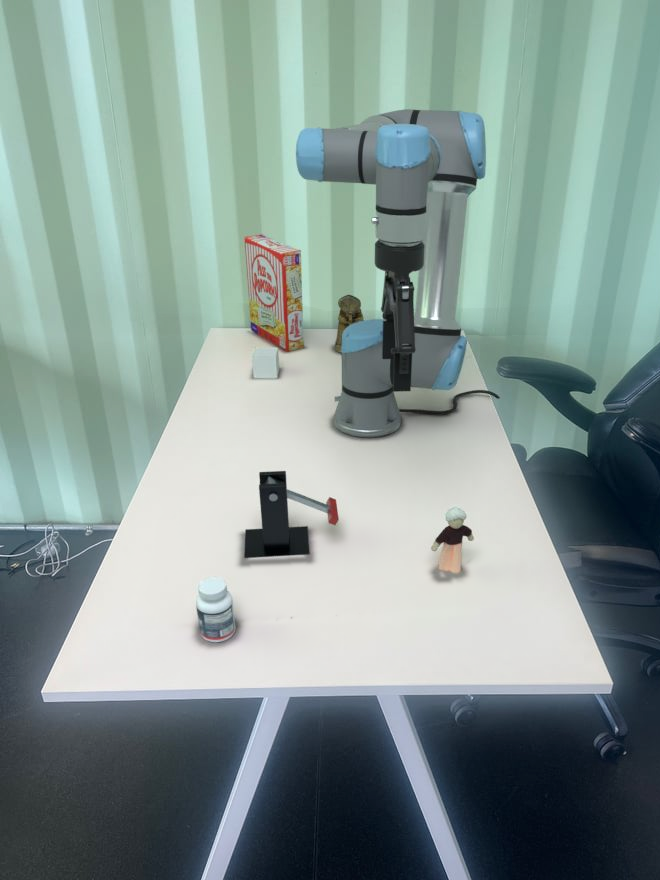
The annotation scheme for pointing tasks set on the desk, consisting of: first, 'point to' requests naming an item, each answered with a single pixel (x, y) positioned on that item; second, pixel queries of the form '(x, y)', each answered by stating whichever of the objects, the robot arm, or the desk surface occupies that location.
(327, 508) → the lever
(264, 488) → the bracket
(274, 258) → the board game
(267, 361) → the pale blue cube
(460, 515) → the grandmother figurine
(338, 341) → the bronze figurine
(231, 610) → the pill bottle
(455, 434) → the desk surface
